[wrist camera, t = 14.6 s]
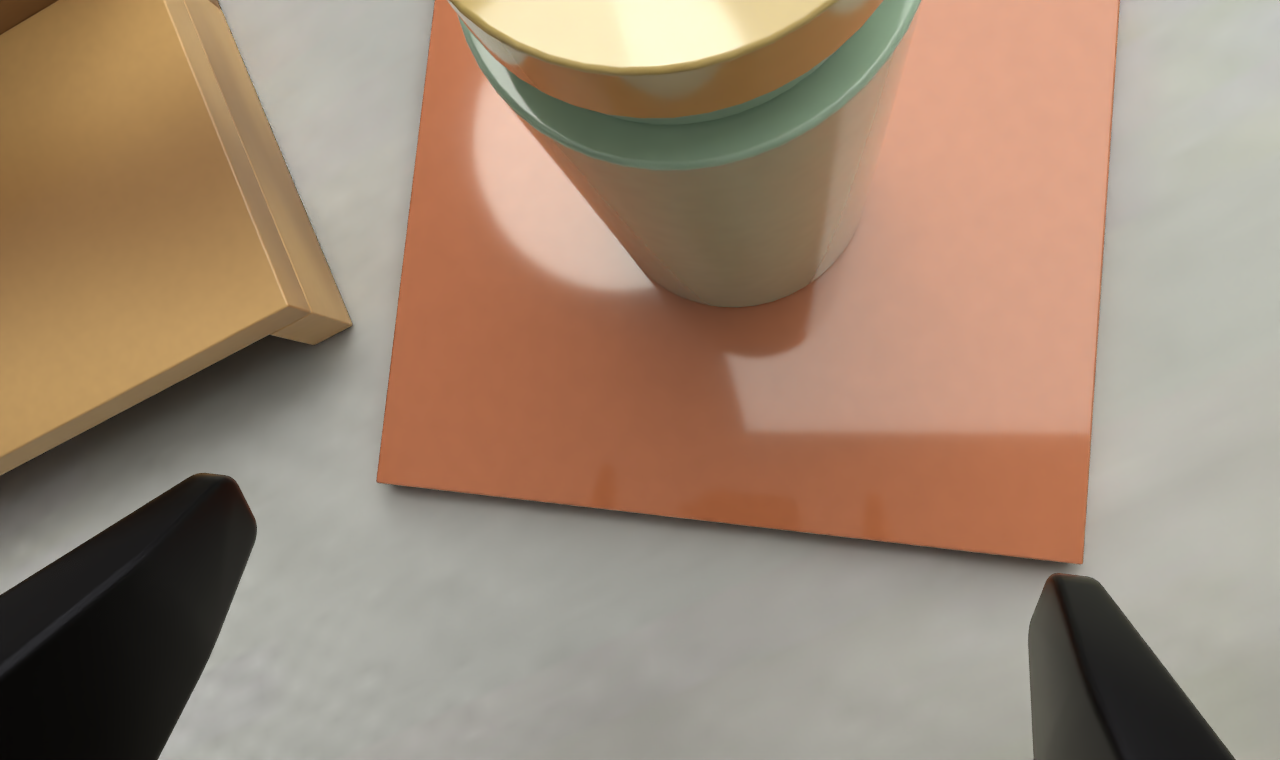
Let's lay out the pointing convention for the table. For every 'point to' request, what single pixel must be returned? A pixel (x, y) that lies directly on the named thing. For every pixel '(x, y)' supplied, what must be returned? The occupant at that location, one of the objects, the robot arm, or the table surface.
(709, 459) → the trivet
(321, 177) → the table surface
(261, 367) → the table surface
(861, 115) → the jar
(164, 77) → the shelf
